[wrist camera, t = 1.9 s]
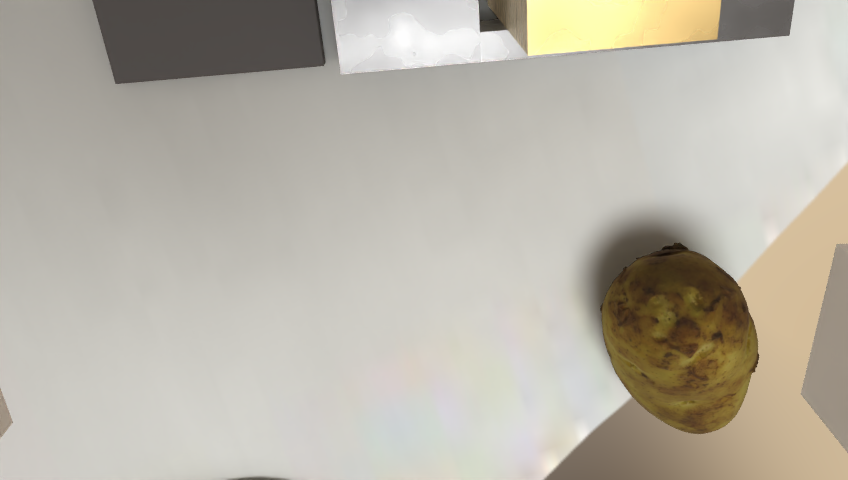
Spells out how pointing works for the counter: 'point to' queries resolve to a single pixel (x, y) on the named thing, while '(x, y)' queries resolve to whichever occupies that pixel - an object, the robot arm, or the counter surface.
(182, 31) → the pad
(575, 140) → the counter surface
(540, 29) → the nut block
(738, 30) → the grey slotted block
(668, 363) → the potato
